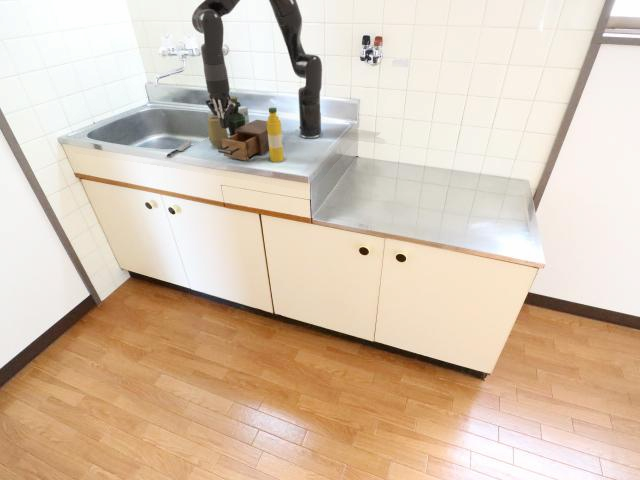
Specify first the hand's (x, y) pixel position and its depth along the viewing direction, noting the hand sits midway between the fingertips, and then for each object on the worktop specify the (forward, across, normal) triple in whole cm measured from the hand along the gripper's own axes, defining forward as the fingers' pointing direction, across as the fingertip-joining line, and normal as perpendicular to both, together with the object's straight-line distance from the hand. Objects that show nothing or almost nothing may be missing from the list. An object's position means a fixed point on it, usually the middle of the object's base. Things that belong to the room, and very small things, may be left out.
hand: (225, 127), depth 137 cm
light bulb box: (+14, +22, -31) cm, 41 cm away
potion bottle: (+14, +14, -22) cm, 30 cm away
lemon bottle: (+14, -14, -11) cm, 23 cm away
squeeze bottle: (+14, +16, -12) cm, 24 cm away
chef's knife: (+14, +28, -2) cm, 31 cm away
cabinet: (+14, 0, -19) cm, 24 cm away
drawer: (+13, 0, -7) cm, 15 cm away
